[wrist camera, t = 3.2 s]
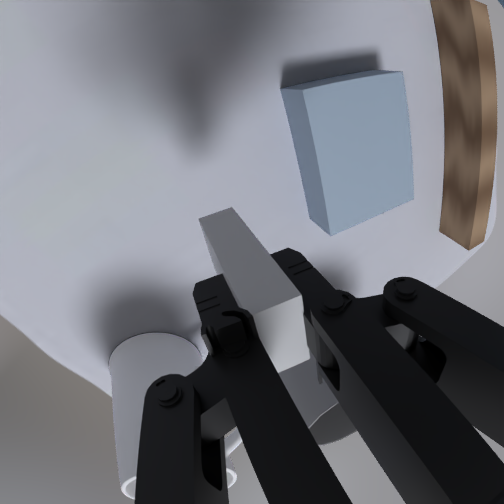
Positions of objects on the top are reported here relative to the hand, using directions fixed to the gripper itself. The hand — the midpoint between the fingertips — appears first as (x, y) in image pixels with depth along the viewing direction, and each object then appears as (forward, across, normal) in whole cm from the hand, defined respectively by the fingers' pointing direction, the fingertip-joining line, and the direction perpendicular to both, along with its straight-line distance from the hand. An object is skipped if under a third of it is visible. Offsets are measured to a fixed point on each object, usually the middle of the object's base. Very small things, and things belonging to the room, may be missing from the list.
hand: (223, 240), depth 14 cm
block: (+8, +11, 0) cm, 14 cm away
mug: (+8, -7, -14) cm, 17 cm away
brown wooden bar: (+7, +25, 0) cm, 26 cm away
